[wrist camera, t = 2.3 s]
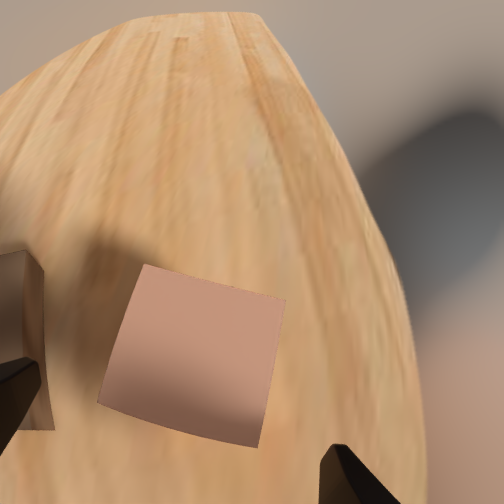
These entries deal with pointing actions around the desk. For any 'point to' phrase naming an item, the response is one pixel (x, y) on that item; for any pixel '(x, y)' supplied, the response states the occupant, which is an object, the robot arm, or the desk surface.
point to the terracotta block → (195, 357)
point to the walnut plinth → (24, 327)
